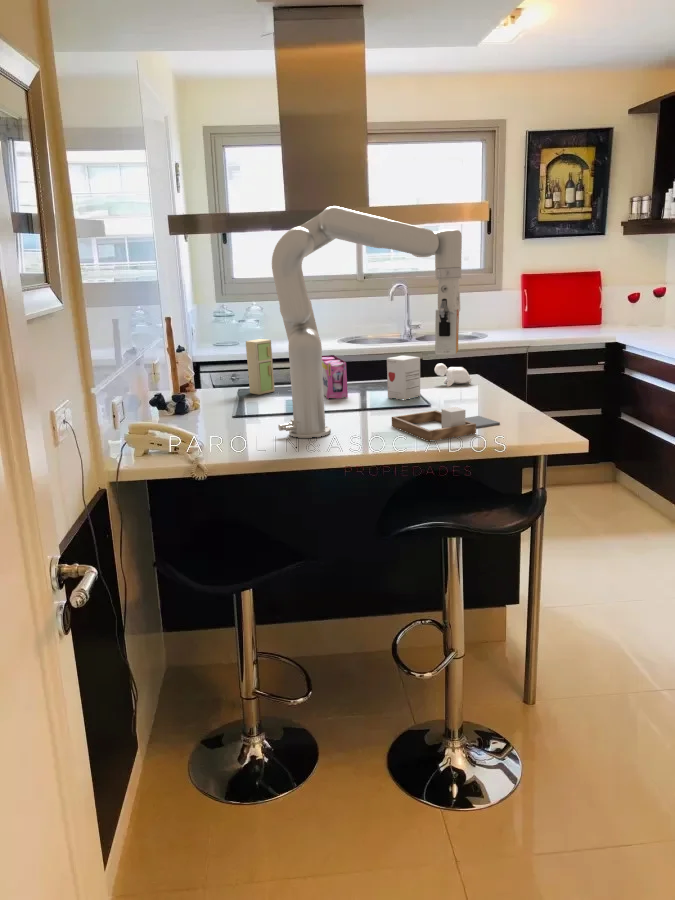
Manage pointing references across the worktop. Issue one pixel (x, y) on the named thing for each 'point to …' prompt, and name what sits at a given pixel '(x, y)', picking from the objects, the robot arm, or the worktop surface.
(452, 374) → the white animal figurine
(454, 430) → the tray
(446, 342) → the small box
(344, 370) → the gum box
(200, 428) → the worktop surface
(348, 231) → the robot arm
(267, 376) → the toy refrigerator
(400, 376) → the supplement box
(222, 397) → the worktop surface
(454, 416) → the white block
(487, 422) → the slate mat
